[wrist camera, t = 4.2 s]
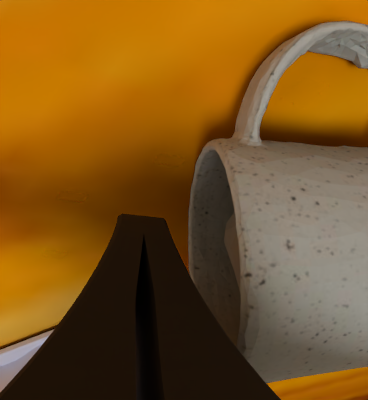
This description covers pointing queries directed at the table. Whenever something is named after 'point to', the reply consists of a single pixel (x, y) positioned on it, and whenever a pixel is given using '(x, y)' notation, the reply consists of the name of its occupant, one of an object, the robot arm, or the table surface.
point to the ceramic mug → (285, 231)
